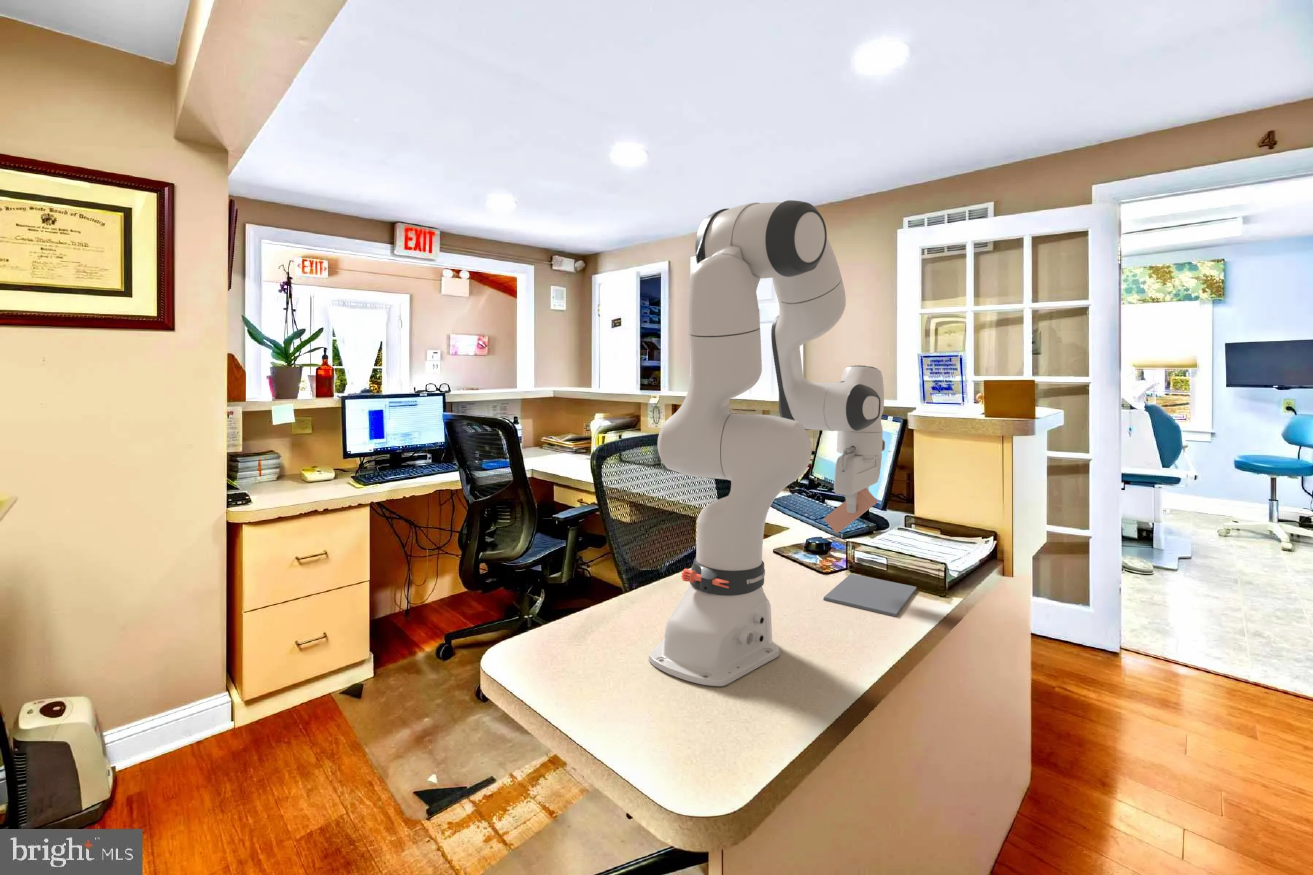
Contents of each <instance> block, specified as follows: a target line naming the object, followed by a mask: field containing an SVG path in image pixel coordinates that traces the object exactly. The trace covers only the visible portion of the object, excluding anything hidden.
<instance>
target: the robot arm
mask: <svg viewBox="0 0 1313 875" xmlns="http://www.w3.org/2000/svg"><path fill="white" fill-rule="evenodd" d="M827 232H828V231H827V226H826V222H825V220H824V218H823V216H822V215H821V213H820V211H819V210H818V209H817V208H816V207H815V206H814V205H813V204H811V203H809V202H806V201H802V200H791V199H789V200H785V201H783V202H773V201H772V202H761V203H760V202H752V203H745V204H742V205H738V206H734V207H731V208H722V209H719V210H717V211H715V212H712V213H710V215H708V216H707V217H705V218H704V219H703V220H702V222H701V223H700V225H699V228H698V230H697V232H696V233H697V234H696V238H695V248H694V249H695V260H696V263H697V264H696V265H695V266H694V267H693V268H692V270H691V273H690V276H689V284H688V292H687V294H688V296H687V329H688V342H689V343H688V344H689V360H690V361H689V364H690V366H689V367H690V370H689V371H690V372H689V374H690V376H689V377H690V378H689V384H688V389H687V393H686V396H685V398H684V400H683V402H682V404H681V405H680V407H679V408H678V410H676V412H674V413H673V414H672V415H671V416H670V417H669V418H668V419H667V420H665V422H663V425H662V426H661V428H660V430H659V433H658V437H657V452H658V454H659V459H660V461H661V462H662V465H664V467H665V468H666V469H668V470H670V471H673V472H677V473H680V474H683V475H686V476H690V477H694V478H695V477H696V478H704V479H705V478H707V479H717V480H718V479H719V480H727V481H730V483H731V484H730V491H729V493H728V495H727V496H724V497H721V498H719V499H717V500H714V501H712V502H711V503H709V504H707V505H706V506H704V507H703V508H702V510H700V512H699V515H698V516H697V519H696V545H695V546H696V554H695V557H694V559H693V564H692V566H691V569H688V568H684V569H683V570H682V573H681V580H682V581H683V582H689V585H688V587H687V588H686V590H685V592H684V594H683V595H682V597H681V598H680V600H679V601H678V603H677V604H676V606H675V607H674V609H673V611H672V613H671V614H670V615H669V617H668V618H667V622H666V624H665V631H664V638H663V639H662V640H661V641H660V642H659V643H658V644H657V645H656V646H655V647H654V648H653V649H652V650H651V651H650V652H649V655H648V661H649V662H650V664H652V665H653V666H654V667H655V668H657V669H658V670H661V671H662V672H664V673H666V674H668V675H670V676H674V677H676V678H678V679H681V680H684V681H687V682H689V683H690V682H691V683H694V684H698V685H703V686H709V687H710V686H711V687H725V686H727V685H729V684H731V683H733V682H734V681H736V680H738V679H739V678H741V677H743V676H745V675H747V674H749V673H751V672H753V671H754V670H756V669H758V668H759V667H761V666H763V665H765V664H767V663H769V662H771V661H773V660H774V659H777V658H778V657H779V656H780V649H779V647H778V646H777V645H776V644H775V643H774V642H773V628H772V626H773V625H772V623H773V622H772V605H771V603H770V600H769V598H768V597H767V596H766V593H765V591H764V588H763V586H764V584H765V576H766V570H765V562H764V560H763V547H764V546H763V544H764V534H765V532H764V531H765V526H766V520H767V516H768V512H769V510H770V508H771V506H772V504H773V502H774V501H775V499H776V498H777V496H778V495H779V494H780V493H781V492H782V491H783V490H784V489H785V488H786V487H788V486H789V485H791V483H793V482H796V481H797V480H798V479H800V477H802V475H803V474H804V473H805V471H806V470H807V469H808V467H809V464H810V462H811V459H812V453H813V451H812V449H813V448H812V447H813V446H812V442H811V438H810V435H809V432H808V431H824V432H825V431H827V432H828V431H829V432H837V439H836V441H837V442H836V452H837V453H840V454H841V455H840V456H838V457H837V459H836V461H835V462H836V463H835V467H834V468H835V469H834V481H833V490H834V493H835V495H841V496H844V498H845V501H846V503H847V512H848V513H855V512H857V507H858V504H857V501H856V497H857V492H859V491H861V490H863V489H865V488H867V490H868V491H869V490H870V489H869V488H870V487H871V486H873V485H875V484H876V483H878V482H879V479H880V474H881V468H882V459H883V452H884V451H885V449H886V441H885V440H884V439H883V430H884V429H883V425H882V415H883V413H884V411H885V410H884V409H885V388H884V378H883V373H882V371H881V370H880V369H879V368H876V367H874V366H871V365H870V366H869V365H868V366H867V365H861V364H859V365H850V366H846V367H845V368H843V371H842V375H841V380H839V381H836V382H826V381H825V382H820V381H819V382H817V381H816V382H815V381H812V380H808V379H807V378H805V377H804V373H803V364H802V357H801V354H802V353H801V346H803V345H805V344H807V343H809V342H812V341H813V340H815V339H818V338H820V337H821V336H824V334H826V333H827V332H829V331H830V330H831V329H833V328H834V327H835V326H836V324H837V323H838V322H839V321H840V319H842V316H843V315H844V311H845V308H846V306H847V304H846V302H847V301H846V291H845V286H844V282H843V277H842V274H841V270H840V267H839V264H838V261H837V258H836V255H835V252H834V250H833V247H832V245H831V243H830V241H829V238H828V237H827V235H828V234H827ZM770 278H772V283H773V286H774V291H775V294H776V298H777V302H778V307H779V311H778V312H779V314H778V315H777V316H776V317H775V318H774V320H773V322H772V324H771V331H770V332H771V333H770V336H771V338H770V339H771V349H772V356H773V362H774V368H775V369H774V370H775V374H776V382H777V388H778V411H779V412H778V413H779V416H777V415H772V414H771V415H770V414H749V413H748V414H745V413H733V412H730V406H729V405H730V400H732V399H733V398H736V397H738V396H740V395H742V394H743V393H745V392H747V391H749V390H750V389H751V388H753V387H754V386H755V385H756V384H757V382H758V381H759V380H760V378H761V375H762V373H763V372H762V370H763V369H762V368H763V364H762V342H761V341H762V340H761V322H760V309H759V302H758V295H757V290H758V286H759V282H760V281H761V279H770ZM869 492H870V491H869Z"/></svg>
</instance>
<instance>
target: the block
mask: <svg viewBox="0 0 1313 875" xmlns="http://www.w3.org/2000/svg"><path fill="white" fill-rule="evenodd" d="M856 501H857V504H858V507H857V512H855V513H848V512H847V503H846V500H844V501H843V502H841V504H839V505H838V506H837V507H836V508H835V509H833V510H832V511H831V512H830V513H828V515H826V516H825V517H824V518H823V520H824V521H825V523H827V525H829V527H830V528H831V530H833V531H834V533H835V534H838V533H839V532H841V531H843V530H844V529H845V528H847V527H849V525H851V524H852V523H853V522H854V521H856V520H857V519H858V518H859V517H861V516H862V515H863V514H864V513H866V512H867V511H869V510H870V509H871V508H872V507H873V506H875V505H876V504H878V502H879V501H878V500H877V498H876V497H875V496H874V495H873V494H872V492H870V491H868V490H867V488H865V489H863V490H861V491H859V492H857V497H856Z"/></svg>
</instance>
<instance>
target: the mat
mask: <svg viewBox="0 0 1313 875" xmlns="http://www.w3.org/2000/svg"><path fill="white" fill-rule="evenodd" d="M916 591H917V586H913V585H910V584H903V583H899V582H895V581H890V580H885V579H879V578H875V577H870V576H869V577H868V576H865V575H861V574H854V573H850V574H848V575H847V576H846V577H845V578H844V579H843V580H842V581H840V582H839V583H838V584H837V585H835V587H833V588H832V589H831V590H830V591H829V592H828V593H826V594H825V595H824V596H823V601H827V602H830V603H835V604H839V605H845V606H848V607H852V608H857V609H859V610H860V609H861V610H865V611H869V612H874V613H876V614H877V613H878V614H883V615H886V616H890V617H895V618H896V617H898V615H899V614H900V612H901V611H902V610H903V608H904V607H905V606H906V604H907V603H908V602H909V601H910V599H911V597H913V595H914V593H916Z"/></svg>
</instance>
